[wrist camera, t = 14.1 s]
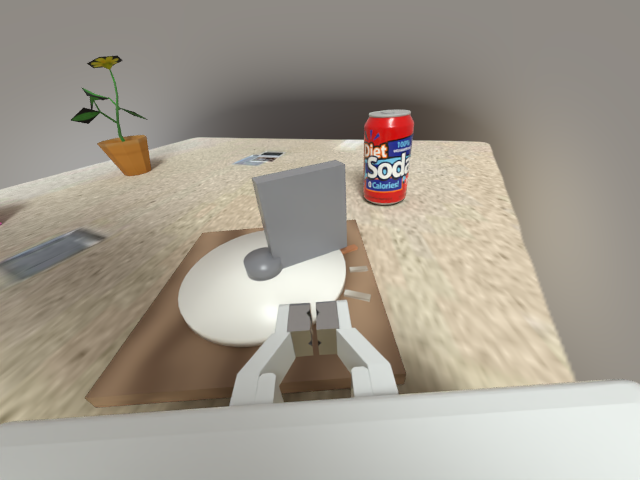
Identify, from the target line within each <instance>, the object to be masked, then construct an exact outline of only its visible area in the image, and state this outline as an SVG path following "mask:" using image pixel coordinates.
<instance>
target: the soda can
mask: <svg viewBox="0 0 640 480" xmlns="http://www.w3.org/2000/svg"><path fill="white" fill-rule="evenodd" d="M410 113H411V111H409V110H385V111H377V112H372V113H369V118H368V120H367V122H366V123H365V126H364V179H363V195H364V198H365V199H366V200H368V201H370V202H372V203H374V204H377V205H392V204H395V203H397V202H400V201H402V200H403V199H404V198H405V196H406V191H407V182H408V174H409V165H410V156H411V148H412V139H413V130H414V121H413V119H412V118H411V116H410Z"/></svg>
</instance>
